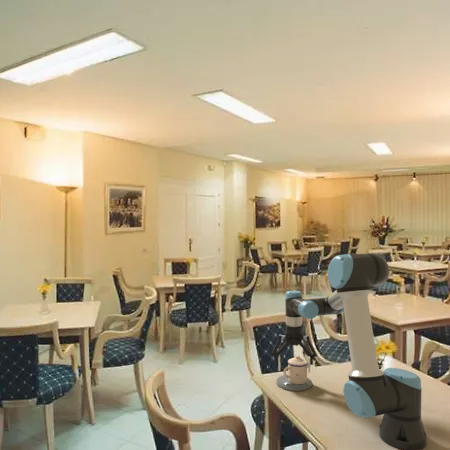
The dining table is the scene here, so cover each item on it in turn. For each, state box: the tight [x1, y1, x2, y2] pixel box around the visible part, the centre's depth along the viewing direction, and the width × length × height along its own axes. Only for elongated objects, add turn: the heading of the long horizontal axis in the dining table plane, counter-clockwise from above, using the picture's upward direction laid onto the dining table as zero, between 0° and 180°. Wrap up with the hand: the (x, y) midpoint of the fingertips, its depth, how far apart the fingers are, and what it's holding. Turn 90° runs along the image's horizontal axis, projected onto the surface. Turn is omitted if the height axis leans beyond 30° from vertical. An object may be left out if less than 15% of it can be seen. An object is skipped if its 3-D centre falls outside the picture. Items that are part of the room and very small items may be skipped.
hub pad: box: [276, 374, 313, 392], centre depth 188 cm, size 16×16×1 cm
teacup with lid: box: [283, 354, 308, 384], centre depth 188 cm, size 12×9×12 cm
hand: (294, 370), depth 188 cm, fingers open, 13 cm apart
